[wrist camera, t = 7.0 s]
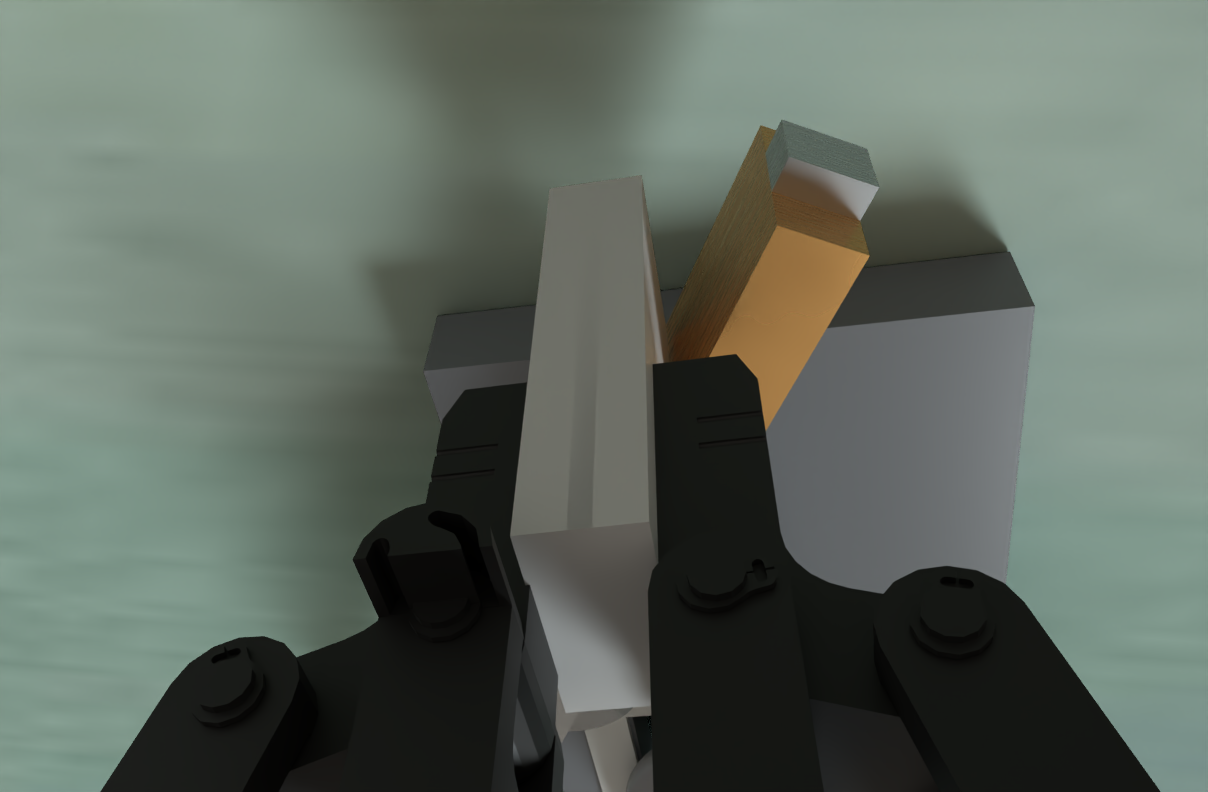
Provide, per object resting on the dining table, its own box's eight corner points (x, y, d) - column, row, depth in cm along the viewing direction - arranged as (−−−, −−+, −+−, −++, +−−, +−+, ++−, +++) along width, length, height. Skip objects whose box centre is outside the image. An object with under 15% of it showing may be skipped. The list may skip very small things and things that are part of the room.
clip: (918, 142, 15) (958, 244, 13) (512, 841, 27) (500, 949, 25) (713, 70, 14) (722, 165, 12) (393, 816, 27) (371, 924, 25)
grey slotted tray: (1009, 251, 19) (1057, 356, 17) (951, 946, 35) (970, 1046, 33) (437, 316, 20) (410, 421, 18) (637, 957, 36) (636, 1054, 34)
